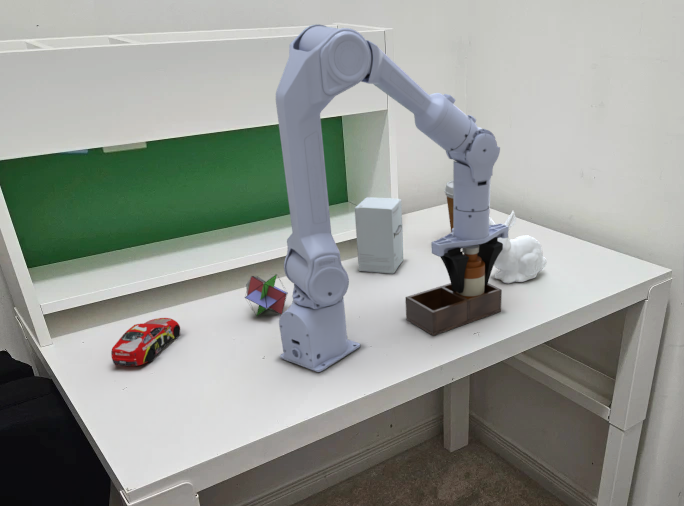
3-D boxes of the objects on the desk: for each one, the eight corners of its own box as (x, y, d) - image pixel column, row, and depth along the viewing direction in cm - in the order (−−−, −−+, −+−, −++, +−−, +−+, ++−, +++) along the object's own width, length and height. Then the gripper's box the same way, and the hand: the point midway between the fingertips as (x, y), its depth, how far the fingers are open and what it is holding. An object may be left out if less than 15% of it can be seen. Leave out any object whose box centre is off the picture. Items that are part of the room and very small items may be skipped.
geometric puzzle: (305, 296, 112) (275, 258, 110) (285, 313, 106) (252, 272, 104) (279, 315, 116) (249, 278, 114) (258, 332, 110) (226, 293, 108)
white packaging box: (394, 274, 126) (391, 209, 119) (357, 271, 127) (352, 207, 121) (404, 260, 132) (402, 198, 126) (369, 257, 133) (365, 195, 127)
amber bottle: (474, 311, 109) (475, 253, 104) (450, 305, 111) (450, 247, 106) (489, 301, 112) (491, 244, 107) (465, 295, 115) (465, 238, 109)
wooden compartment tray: (433, 336, 104) (432, 312, 102) (406, 319, 109) (405, 297, 107) (501, 311, 112) (501, 289, 110) (472, 297, 117) (473, 275, 115)
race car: (156, 328, 107) (150, 305, 105) (187, 330, 106) (182, 308, 104) (106, 368, 96) (99, 344, 94) (141, 371, 95) (134, 347, 93)
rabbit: (497, 288, 120) (499, 224, 114) (474, 270, 128) (476, 209, 121) (554, 277, 125) (559, 215, 118) (529, 261, 132) (533, 201, 126)
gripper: (489, 193, 110) (487, 269, 117) (419, 209, 102) (421, 290, 109) (518, 202, 105) (514, 281, 112) (446, 220, 97) (447, 304, 104)
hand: (470, 286), depth 110 cm, fingers closed on amber bottle, 5 cm apart
